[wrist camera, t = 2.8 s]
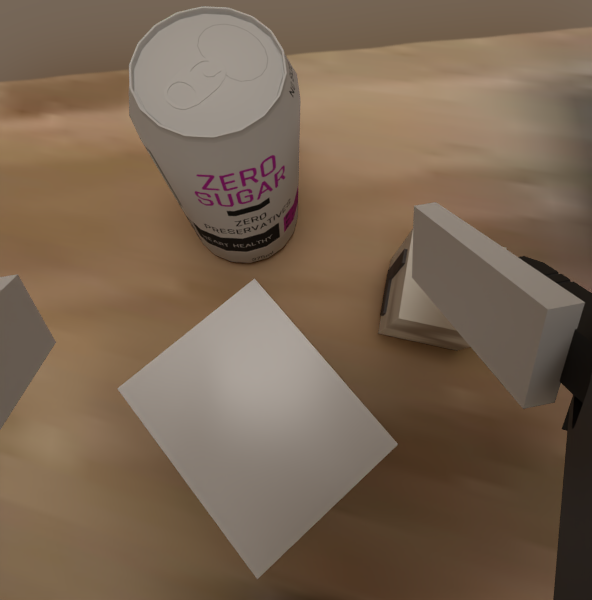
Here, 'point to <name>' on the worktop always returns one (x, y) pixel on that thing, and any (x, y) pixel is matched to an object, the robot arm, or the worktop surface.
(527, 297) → the robot arm
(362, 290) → the worktop surface
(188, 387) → the grey board
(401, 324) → the letter block
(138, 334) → the worktop surface
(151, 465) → the worktop surface
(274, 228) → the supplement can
